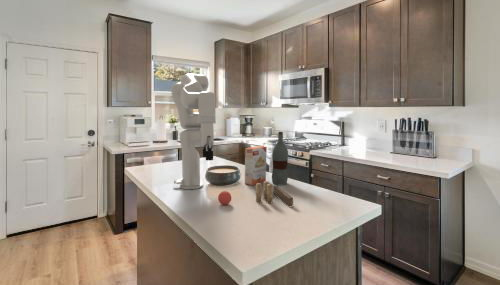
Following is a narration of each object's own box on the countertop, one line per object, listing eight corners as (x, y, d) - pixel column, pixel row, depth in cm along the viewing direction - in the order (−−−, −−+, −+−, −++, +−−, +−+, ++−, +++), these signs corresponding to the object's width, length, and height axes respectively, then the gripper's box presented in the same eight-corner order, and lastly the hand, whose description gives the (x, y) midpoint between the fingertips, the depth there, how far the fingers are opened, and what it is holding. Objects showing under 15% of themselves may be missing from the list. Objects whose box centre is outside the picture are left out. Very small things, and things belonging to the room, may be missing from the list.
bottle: (286, 181, 169) (287, 131, 166) (288, 185, 160) (290, 132, 157) (270, 181, 169) (271, 131, 165) (272, 185, 160) (273, 132, 156)
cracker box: (252, 185, 159) (253, 149, 156) (244, 184, 162) (244, 148, 160) (266, 180, 170) (267, 146, 167) (258, 179, 174) (258, 145, 171)
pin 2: (267, 203, 130) (268, 185, 129) (266, 201, 132) (266, 184, 131) (272, 203, 130) (273, 185, 129) (271, 201, 133) (271, 183, 132)
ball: (219, 207, 125) (219, 193, 124) (217, 202, 131) (217, 190, 130) (232, 205, 126) (232, 192, 126) (230, 201, 132) (230, 189, 131)
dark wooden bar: (288, 206, 126) (288, 198, 125) (273, 193, 145) (273, 186, 144) (292, 206, 126) (293, 197, 126) (277, 193, 145) (277, 185, 145)
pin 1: (264, 200, 135) (264, 182, 134) (263, 198, 137) (263, 181, 136) (269, 199, 135) (269, 182, 134) (267, 198, 138) (267, 181, 136)
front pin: (256, 202, 131) (257, 184, 130) (255, 200, 133) (255, 183, 132) (261, 202, 132) (262, 184, 131) (260, 200, 134) (260, 183, 133)
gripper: (196, 120, 132) (197, 156, 134) (200, 120, 116) (201, 162, 117) (212, 120, 134) (213, 155, 136) (218, 120, 118) (219, 161, 119)
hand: (207, 158), depth 127 cm, fingers open, 9 cm apart
